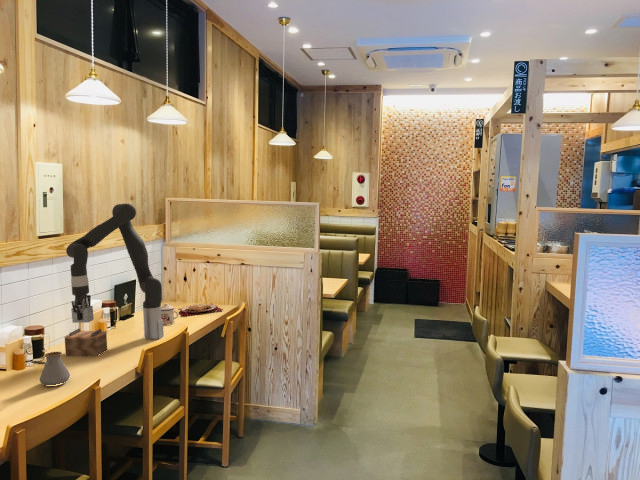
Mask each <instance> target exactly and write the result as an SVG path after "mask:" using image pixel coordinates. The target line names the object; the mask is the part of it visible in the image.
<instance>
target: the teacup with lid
mask: <svg viewBox="0 0 640 480" xmlns="http://www.w3.org/2000/svg"><path fill="white" fill-rule="evenodd" d="M175 313H176V316H175ZM178 317H179V311H178V310H175V307H174V306H173V305H170V304H169V303H165V302H164V304H163V305H161V319H163V325H169V324H170V325H171V324H173V323H174V322H175V320H176V319H178Z"/></svg>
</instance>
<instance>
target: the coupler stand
mask: <svg viewBox="0 0 640 480" xmlns="http://www.w3.org/2000/svg"><path fill="white" fill-rule="evenodd" d="M64 348H65V357H88V356H97V357H99V356H100V355H99V354H101V353H102V352H104V351H105V352H107V351H108V337H107V331H105V330H102V328H99V329H97V330H81V328H77V329H75V330H73V331H71V332H69V334H67V335H65V336H64ZM106 350H107V351H106ZM105 352H104V353H105ZM102 354H103V353H102ZM102 354H101V355H102ZM98 355H99V356H98Z"/></svg>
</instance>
